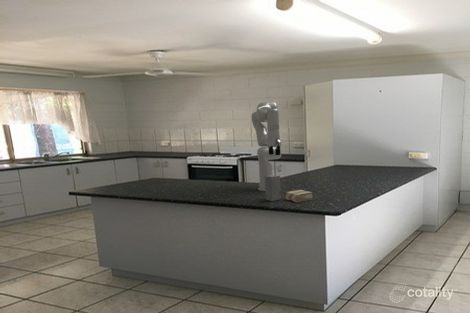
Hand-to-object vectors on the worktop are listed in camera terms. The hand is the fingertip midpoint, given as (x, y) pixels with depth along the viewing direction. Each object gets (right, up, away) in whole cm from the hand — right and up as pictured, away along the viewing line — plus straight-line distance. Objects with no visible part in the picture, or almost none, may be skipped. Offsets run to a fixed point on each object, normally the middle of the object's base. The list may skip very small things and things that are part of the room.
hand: (274, 154), depth 241 cm
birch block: (+16, -29, -2) cm, 33 cm away
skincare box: (-1, -29, +1) cm, 29 cm away
